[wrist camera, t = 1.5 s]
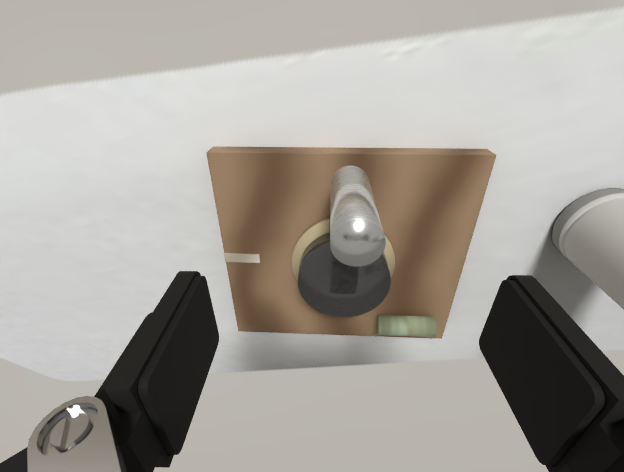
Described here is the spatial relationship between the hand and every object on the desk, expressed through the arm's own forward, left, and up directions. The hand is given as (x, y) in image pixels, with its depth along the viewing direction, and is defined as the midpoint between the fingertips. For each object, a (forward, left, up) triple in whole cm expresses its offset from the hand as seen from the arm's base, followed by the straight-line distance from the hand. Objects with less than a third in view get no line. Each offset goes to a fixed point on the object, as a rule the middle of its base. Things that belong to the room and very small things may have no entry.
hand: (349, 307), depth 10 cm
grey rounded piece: (-1, +5, -13) cm, 14 cm away
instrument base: (-1, +8, -16) cm, 18 cm away
